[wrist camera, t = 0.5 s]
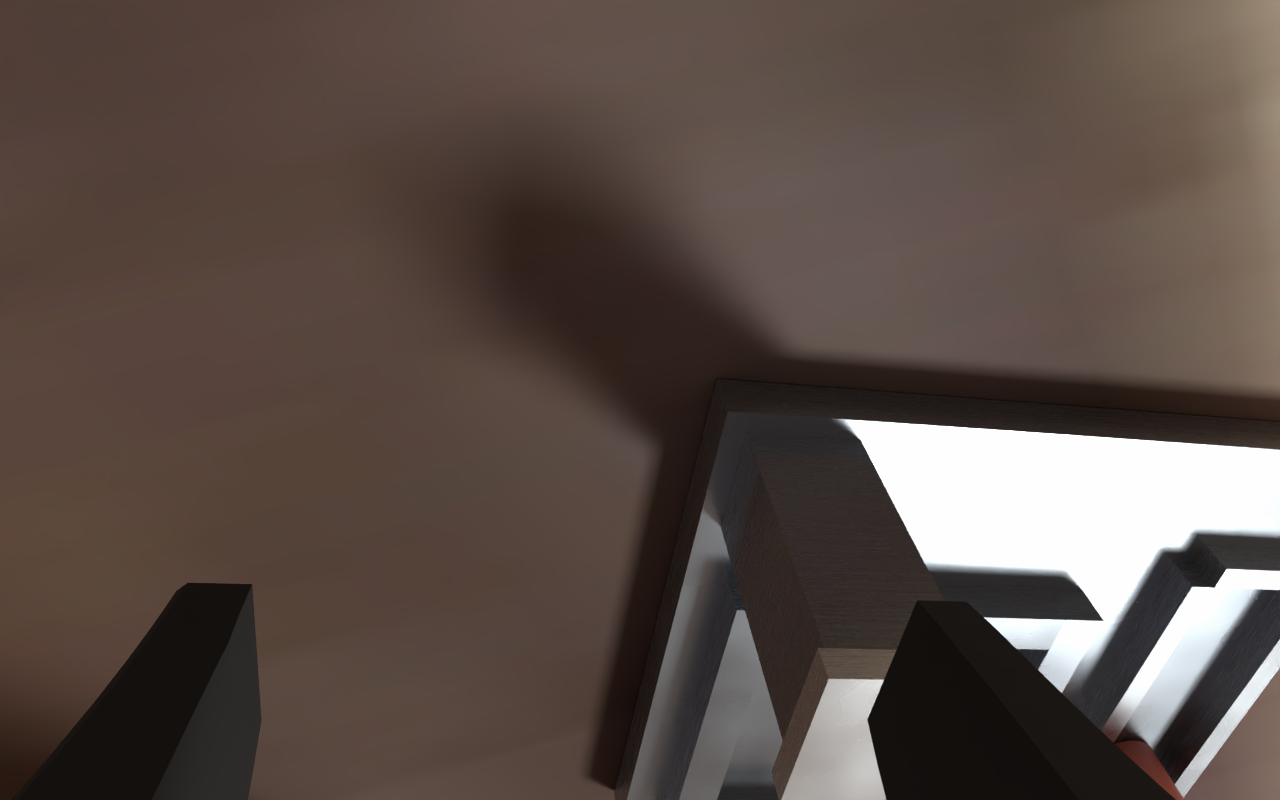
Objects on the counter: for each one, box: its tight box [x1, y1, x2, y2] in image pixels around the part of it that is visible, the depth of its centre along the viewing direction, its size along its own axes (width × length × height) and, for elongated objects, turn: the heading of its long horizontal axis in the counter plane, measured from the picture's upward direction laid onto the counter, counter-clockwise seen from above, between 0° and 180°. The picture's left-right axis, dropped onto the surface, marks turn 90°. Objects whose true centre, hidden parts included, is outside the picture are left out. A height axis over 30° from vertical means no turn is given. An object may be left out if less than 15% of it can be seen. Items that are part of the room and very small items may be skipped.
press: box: [614, 379, 1280, 800], centre depth 23 cm, size 14×16×8 cm
